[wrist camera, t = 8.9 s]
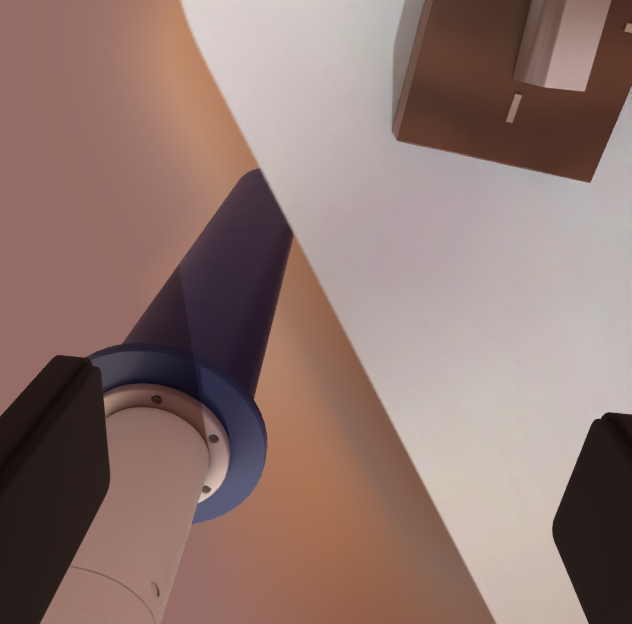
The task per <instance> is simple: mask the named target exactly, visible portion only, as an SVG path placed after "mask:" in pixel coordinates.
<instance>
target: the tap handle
mask: <svg viewBox="0 0 632 624" xmlns="http://www.w3.org/2000/svg"><path fill="white" fill-rule="evenodd" d="M610 3H611V0H531V3H530V7H529V11H528V15H527V20H526V24H525V28H524V33H523V37H522V41H521V45H520V50H519V54H518V58H517V62H516V67H515V71H514V75H513V79H514V80H518V81H522V82H526V83H530V84H534V85H538V86H541V87H546V88H555V89H565V90H574V91H585V89H586V86H587V82H588V79H589V75H590V72H591V68H592V65H593V62H594V58H595V55H596V51H597V48H598V44H599V41H600V38H601V34H602V31H603V27H604V24H605V20H606V17H607V14H608V10H609V7H610Z"/></svg>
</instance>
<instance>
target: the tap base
mask: <svg viewBox="0 0 632 624" xmlns="http://www.w3.org/2000/svg"><path fill="white" fill-rule="evenodd" d="M530 3H531V0H425V2H424V6H423V10H422V14H421V18H420V21H419V25H418V29H417V33H416V37H415V41H414V45H413V49H412V53H411V57H410V61H409V65H408V69H407V73H406V77H405V80H404V84H403V88H402V92H401V96H400V100H399V104H398V108H397V112H396V116H395V120H394V124H393V128H392V132H393V134H394V135H395V137H396V139H397V141H400V142H405V143H409V144H414V145H418V146H423V147H428V148H432V149H437V150H441V151H446V152H450V153H455V154H460V155H464V156H469V157H473V158H478V159H482V160H487V161H492V162H496V163H501V164H505V165H510V166H515V167H519V168H524V169H528V170H533V171H537V172H542V173H547V174H551V175H556V176H560V177H565V178H570V179H574V180H579V181H583V182H588V183H590V182H591V180H592V177H593V175H594V173H595V170H596V168H597V166H598V163H599V161H600V159H601V156H602V154H603V152H604V149H605V147H606V145H607V142H608V140H609V138H610V135H611V133H612V131H613V128H614V126H615V124H616V121H617V119H618V117H619V114H620V112H621V110H622V107H623V105H624V103H625V100H626V98H627V96H628V93H629V91H630V89H631V86H632V0H611V3H610V7H609V10H608V14H607V17H606V20H605V24H604V27H603V31H602V34H601V38H600V41H599V44H598V48H597V51H596V55H595V58H594V62H593V65H592V68H591V72H590V75H589V79H588V82H587V86H586V89H585V91H574V90H565V89H555V88H546V87H541V86H538V85H534V84H530V83H526V82H522V81H518V80H514V79H513V75H514V71H515V67H516V62H517V58H518V54H519V50H520V45H521V41H522V37H523V33H524V28H525V24H526V20H527V15H528V11H529V7H530Z"/></svg>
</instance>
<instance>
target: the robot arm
mask: <svg viewBox="0 0 632 624" xmlns="http://www.w3.org/2000/svg"><path fill="white" fill-rule="evenodd" d="M230 456H231V452H230V443H229V439H228V436H227V433H226V431H225V429H224V427H223V426H222V424H221V422H220V421H219V419H218V418H217V417H216V416H215V415H214V414H213V412H212V411H211V410H210V409H209V408H207V407H206V406H205V405H204V404H203V403H201V402H200V401H199V400H197V399H195V398H193V397H192V396H190V395H188V394H187V393H184V392H182V391H179V390H177V389H174V388H171V387H167V386H163V385H158V384H147V383H137V384H127V385H123V386H119V387H116V388H113V389H111V390H109V391H107V392H105V393H103V388H102V377H101V371H100V368H99V367H95V366H92V363H91V361H90V359H88V358H82V357H73V356H63V355H57V356H55V357H54V358H53V359H52V360H51V361H50V362H49V363H48V364H47V365H46V366H45V367H44V368H43V370H42V371H41V372H40V373H39V374H38V375H37V377H35V379H34V380H33V381H32V382H31V383H30V384H29V385H28V386H27V387H26V389H25V390H24V391H23V392H22V393H21V394H20V395H19V396H18V397H17V399H16V400H15V401H14V402H13V403H12V404H11V405H10V406H9V407H8V409H7V410H6V411H5V412H4V413H3V414H2V415H1V417H0V624H160V623H161V620H162V616H163V613H164V610H165V607H166V603H167V600H168V597H169V594H170V590H171V587H172V584H173V580H174V577H175V574H176V571H177V568H178V565H179V561H180V558H181V555H182V552H183V548H184V545H185V542H186V539H187V535H188V532H189V529H190V526H191V523H192V520H193V516H194V513H195V510H196V507H197V503H200V502H202V501H204V500H205V499H207V498H208V497H210V496H211V495H212V494H213V493H214V492H215V491H216V490H217V489H218V488H219V487H220V486H221V484H222V482H223V481H224V479H225V477H226V474H227V470H228V467H229V462H230ZM552 533H553V538H554V542H555V544H556V546H557V549H558V551H559V554H560V556H561V558H562V561H563V563H564V566H565V568H566V570H567V573H568V575H569V577H570V580H571V582H572V585H573V587H574V589H575V592H576V594H577V597H578V599H579V601H580V604H581V606H582V609H583V611H584V613H585V616H586V618H587V620H588V623H589V624H632V415H631V414H621V413H611V412H609V413H605V414H604V415H603V416H602V418H601V419H596V420H594V421H593V423H592V425H591V427H590V429H589V432H588V434H587V437H586V439H585V442H584V445H583V447H582V450H581V452H580V455H579V457H578V460H577V462H576V465H575V467H574V470H573V472H572V475H571V477H570V480H569V482H568V485H567V487H566V490H565V493H564V495H563V498H562V500H561V503H560V505H559V508H558V510H557V513H556V515H555V518H554V521H553V526H552Z"/></svg>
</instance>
